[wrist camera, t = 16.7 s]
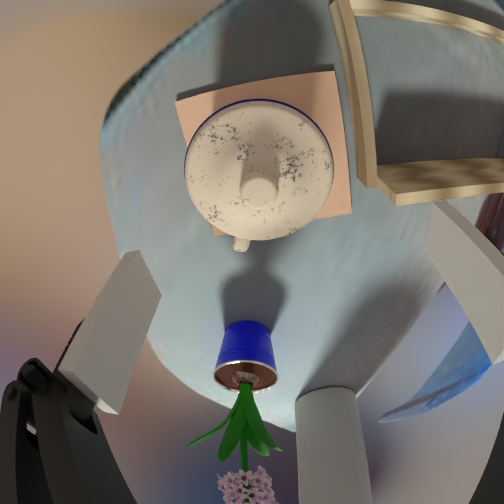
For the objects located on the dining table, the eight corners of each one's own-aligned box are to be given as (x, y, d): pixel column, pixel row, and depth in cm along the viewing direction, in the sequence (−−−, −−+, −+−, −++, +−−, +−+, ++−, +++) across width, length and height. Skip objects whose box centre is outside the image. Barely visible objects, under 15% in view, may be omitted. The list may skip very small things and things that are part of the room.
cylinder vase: (357, 380, 46) (378, 503, 25) (351, 405, 53) (366, 506, 32) (291, 390, 47) (297, 516, 27) (296, 414, 54) (301, 516, 33)
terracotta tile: (332, 71, 20) (334, 70, 19) (349, 210, 27) (351, 213, 27) (176, 101, 22) (174, 102, 21) (216, 233, 29) (215, 236, 29)
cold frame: (507, 38, 13) (547, 42, 7) (513, 165, 22) (548, 187, 16) (328, 6, 16) (352, -17, 10) (357, 177, 25) (384, 207, 19)
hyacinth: (216, 302, 35) (183, 559, 10) (290, 324, 37) (303, 557, 12) (199, 340, 39) (168, 545, 14) (263, 358, 41) (261, 551, 16)
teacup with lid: (217, 86, 20) (181, 87, 11) (322, 109, 21) (372, 132, 12) (197, 209, 27) (163, 287, 17) (287, 226, 28) (301, 312, 18)
